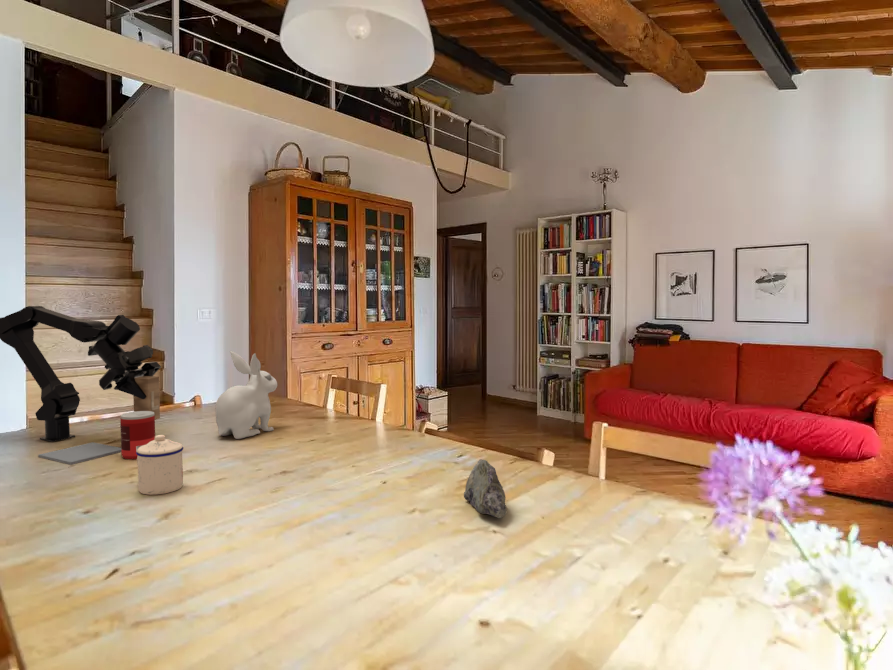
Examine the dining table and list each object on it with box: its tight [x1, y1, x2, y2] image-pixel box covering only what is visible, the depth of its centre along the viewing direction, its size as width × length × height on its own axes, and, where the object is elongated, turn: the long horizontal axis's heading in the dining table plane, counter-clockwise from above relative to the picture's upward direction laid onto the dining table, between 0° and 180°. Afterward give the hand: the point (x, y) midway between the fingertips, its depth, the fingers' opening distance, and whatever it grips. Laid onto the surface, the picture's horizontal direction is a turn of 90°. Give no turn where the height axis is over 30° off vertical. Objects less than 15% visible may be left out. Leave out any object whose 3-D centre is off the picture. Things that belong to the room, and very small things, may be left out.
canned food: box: [119, 411, 156, 460], centre depth 147 cm, size 8×8×11 cm
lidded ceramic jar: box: [136, 434, 184, 496], centre depth 123 cm, size 12×9×12 cm
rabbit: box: [215, 350, 278, 440], centre depth 171 cm, size 12×21×25 cm, turn 148°
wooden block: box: [132, 375, 161, 421], centre depth 158 cm, size 5×5×12 cm
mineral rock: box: [463, 458, 508, 519], centre depth 111 cm, size 13×11×10 cm
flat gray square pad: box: [37, 441, 121, 466], centre depth 148 cm, size 14×14×1 cm
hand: (151, 396), depth 158 cm, fingers closed on wooden block, 5 cm apart
